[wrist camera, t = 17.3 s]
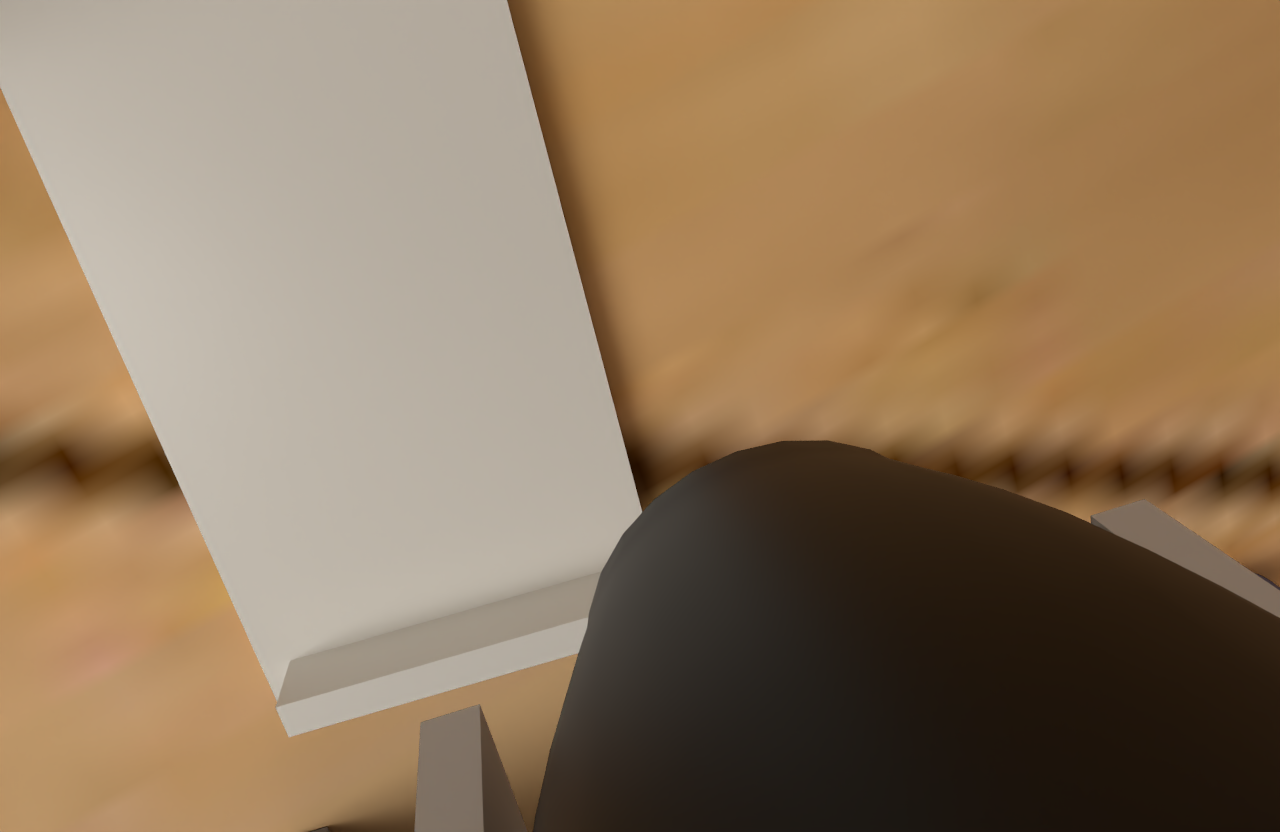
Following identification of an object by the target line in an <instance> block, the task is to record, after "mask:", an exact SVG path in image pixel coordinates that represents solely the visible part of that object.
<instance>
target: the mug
mask: <svg viewBox="0 0 1280 832" xmlns="http://www.w3.org/2000/svg"><path fill="white" fill-rule="evenodd" d="M533 832H1280V618H1279V617H1277V616H1276V615H1274V614H1272V613H1270V612H1268V611H1266V610H1264V609H1263V608H1261V607H1259V606H1257V605H1255V604H1253V603H1252V602H1250V601H1248V600H1246V599H1244V598H1242V597H1241V596H1239V595H1237V594H1235V593H1233V592H1231V591H1230V590H1228V589H1226V588H1224V587H1222V586H1220V585H1218V584H1216V583H1214V582H1212V581H1210V580H1208V579H1206V578H1204V577H1202V576H1200V575H1198V574H1196V573H1194V572H1192V571H1190V570H1188V569H1186V568H1184V567H1182V566H1180V565H1178V564H1176V563H1174V562H1172V561H1170V560H1168V559H1166V558H1164V557H1162V556H1160V555H1158V554H1156V553H1154V552H1152V551H1150V550H1148V549H1146V548H1144V547H1142V546H1139V545H1137V544H1135V543H1133V542H1131V541H1128V540H1126V539H1124V538H1122V537H1120V536H1117V535H1115V534H1113V533H1111V532H1109V531H1106V530H1104V529H1102V528H1100V527H1097V526H1095V525H1093V524H1091V523H1089V522H1086V521H1084V520H1082V519H1080V518H1078V517H1075V516H1073V515H1071V514H1069V513H1066V512H1064V511H1061V510H1058V509H1056V508H1053V507H1050V506H1047V505H1045V504H1042V503H1039V502H1036V501H1034V500H1031V499H1028V498H1025V497H1023V496H1020V495H1017V494H1014V493H1012V492H1009V491H1006V490H1004V489H1000V488H997V487H993V486H990V485H986V484H983V483H979V482H976V481H973V480H969V479H966V478H962V477H959V476H955V475H951V474H947V473H943V472H939V471H935V470H931V469H926V468H922V467H918V466H914V465H911V464H907V463H903V462H899V461H896V460H892V459H888V458H886V457H884V456H882V455H880V454H878V453H876V452H874V451H872V450H870V449H865V448H860V447H856V446H851V445H846V444H842V443H837V442H832V441H781V442H776V443H772V444H767V445H763V446H759V447H754V448H750V449H745V450H741V451H737V452H734V453H732V454H730V455H728V456H725V457H723V458H721V459H719V460H717V461H715V462H712V463H710V464H708V465H706V466H704V467H701V468H699V469H697V470H695V471H693V472H691V473H690V474H688V475H687V476H686V477H684V478H683V479H682V480H680V481H679V482H677V483H676V484H675V485H673V486H672V487H671V488H669V489H668V490H666V491H665V492H664V493H662V494H661V495H660V496H658V497H657V498H655V499H654V500H653V501H652V502H651V503H650V505H649V506H648V507H647V508H646V509H645V510H644V511H643V512H642V513H641V514H640V516H639V517H638V518H637V519H636V520H635V521H634V522H633V523H632V524H631V526H630V527H629V528H628V529H627V530H626V531H625V532H624V533H623V535H622V536H621V538H620V540H619V542H618V543H617V545H616V547H615V549H614V550H613V552H612V554H611V556H610V557H609V559H608V561H607V563H606V564H605V566H604V568H603V570H602V571H601V574H600V577H599V580H598V584H597V587H596V591H595V594H594V597H593V601H592V604H591V607H590V611H589V616H588V625H587V629H586V632H585V635H584V638H583V641H582V644H581V647H580V650H579V653H578V657H577V660H576V664H575V667H574V670H573V674H572V677H571V681H570V684H569V687H568V691H567V694H566V697H565V701H564V704H563V708H562V711H561V715H560V718H559V721H558V725H557V728H556V732H555V735H554V739H553V742H552V745H551V749H550V753H549V757H548V762H547V766H546V771H545V775H544V780H543V784H542V789H541V793H540V798H539V803H538V807H537V812H536V816H535V822H534V829H533Z"/></svg>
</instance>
